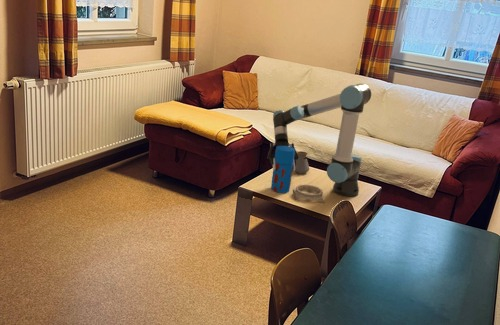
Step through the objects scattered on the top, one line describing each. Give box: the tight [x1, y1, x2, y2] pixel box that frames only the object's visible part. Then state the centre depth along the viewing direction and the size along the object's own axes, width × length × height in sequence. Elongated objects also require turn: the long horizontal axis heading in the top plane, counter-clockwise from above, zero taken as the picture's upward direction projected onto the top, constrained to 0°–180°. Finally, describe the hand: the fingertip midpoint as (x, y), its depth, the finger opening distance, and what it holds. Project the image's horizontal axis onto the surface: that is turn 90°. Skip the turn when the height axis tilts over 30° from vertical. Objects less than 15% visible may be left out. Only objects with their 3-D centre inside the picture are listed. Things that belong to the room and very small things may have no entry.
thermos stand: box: [293, 184, 325, 204], centre depth 275 cm, size 16×16×4 cm
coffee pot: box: [293, 151, 310, 175], centre depth 307 cm, size 21×12×15 cm, turn 4°
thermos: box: [270, 146, 296, 194], centre depth 277 cm, size 11×11×25 cm
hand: (284, 170), depth 274 cm, fingers closed on thermos, 11 cm apart
